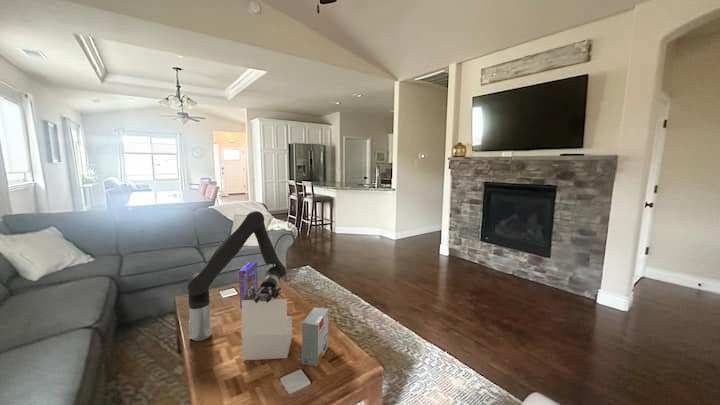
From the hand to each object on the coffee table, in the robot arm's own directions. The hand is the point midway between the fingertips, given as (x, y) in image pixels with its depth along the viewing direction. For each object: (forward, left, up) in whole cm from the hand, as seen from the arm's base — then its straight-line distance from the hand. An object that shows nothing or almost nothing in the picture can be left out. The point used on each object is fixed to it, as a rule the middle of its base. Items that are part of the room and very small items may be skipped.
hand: (261, 300), depth 126 cm
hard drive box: (+23, +4, -30) cm, 38 cm away
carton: (0, +11, -30) cm, 32 cm away
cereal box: (-23, +62, -30) cm, 73 cm away
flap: (0, +4, -9) cm, 10 cm away
